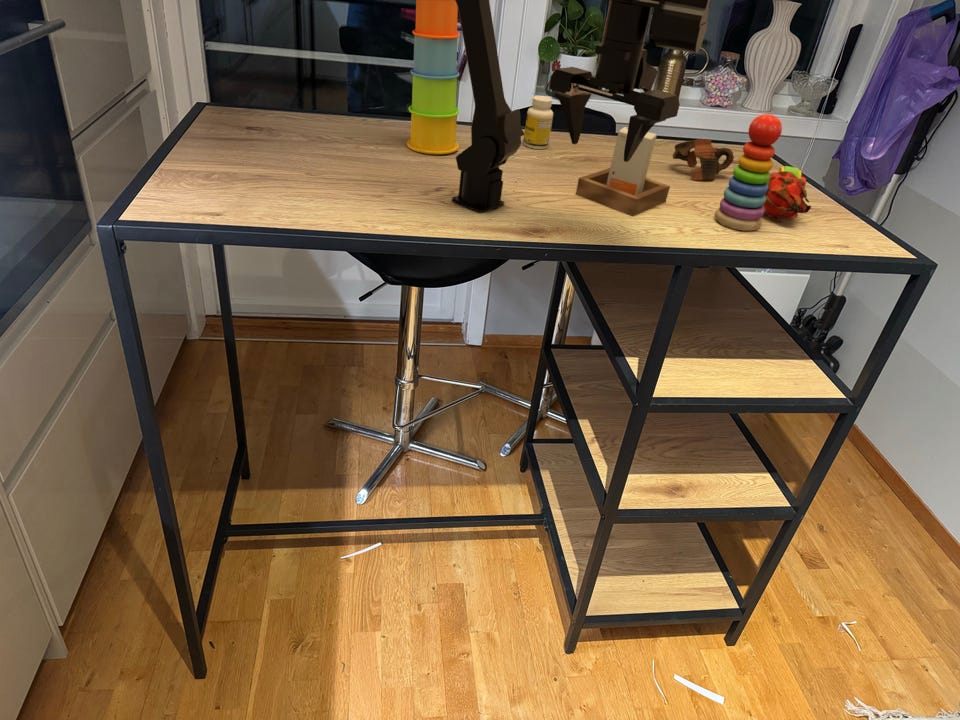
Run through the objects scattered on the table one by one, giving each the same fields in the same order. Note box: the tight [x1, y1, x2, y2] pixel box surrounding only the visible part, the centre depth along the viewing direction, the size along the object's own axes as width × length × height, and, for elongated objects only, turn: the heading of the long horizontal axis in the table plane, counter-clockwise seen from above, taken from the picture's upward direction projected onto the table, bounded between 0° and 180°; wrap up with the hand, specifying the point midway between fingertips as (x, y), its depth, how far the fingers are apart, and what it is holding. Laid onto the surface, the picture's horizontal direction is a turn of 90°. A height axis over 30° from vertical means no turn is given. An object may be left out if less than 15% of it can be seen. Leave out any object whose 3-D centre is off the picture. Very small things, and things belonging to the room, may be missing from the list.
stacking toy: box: [714, 113, 783, 232], centre depth 119 cm, size 8×8×19 cm
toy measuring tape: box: [770, 165, 807, 190], centre depth 139 cm, size 6×20×7 cm, turn 163°
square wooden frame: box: [575, 167, 671, 217], centre depth 130 cm, size 12×20×3 cm, turn 139°
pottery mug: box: [672, 138, 735, 181], centre depth 145 cm, size 12×10×8 cm
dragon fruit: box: [763, 171, 812, 223], centre depth 128 cm, size 8×8×12 cm
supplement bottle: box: [522, 95, 554, 150], centre depth 147 cm, size 5×5×10 cm
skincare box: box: [606, 126, 657, 196], centre depth 125 cm, size 6×4×12 cm
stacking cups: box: [406, 0, 461, 156], centre depth 131 cm, size 10×10×35 cm
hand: (600, 152), depth 106 cm, fingers open, 9 cm apart
